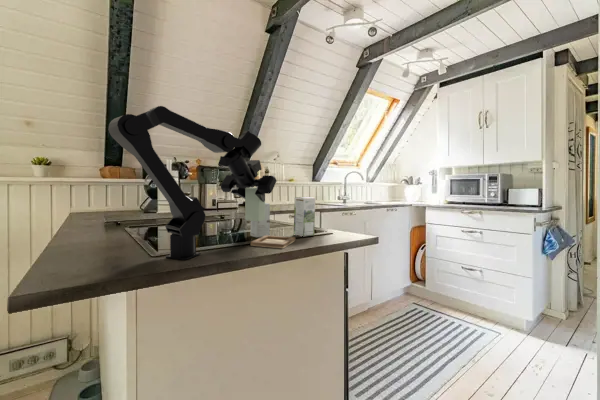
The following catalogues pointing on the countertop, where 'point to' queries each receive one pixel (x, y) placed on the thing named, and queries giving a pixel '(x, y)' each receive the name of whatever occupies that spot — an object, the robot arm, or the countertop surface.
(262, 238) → the groove board
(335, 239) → the countertop surface
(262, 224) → the skincare box
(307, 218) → the syrup box
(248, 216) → the pale green tall block
